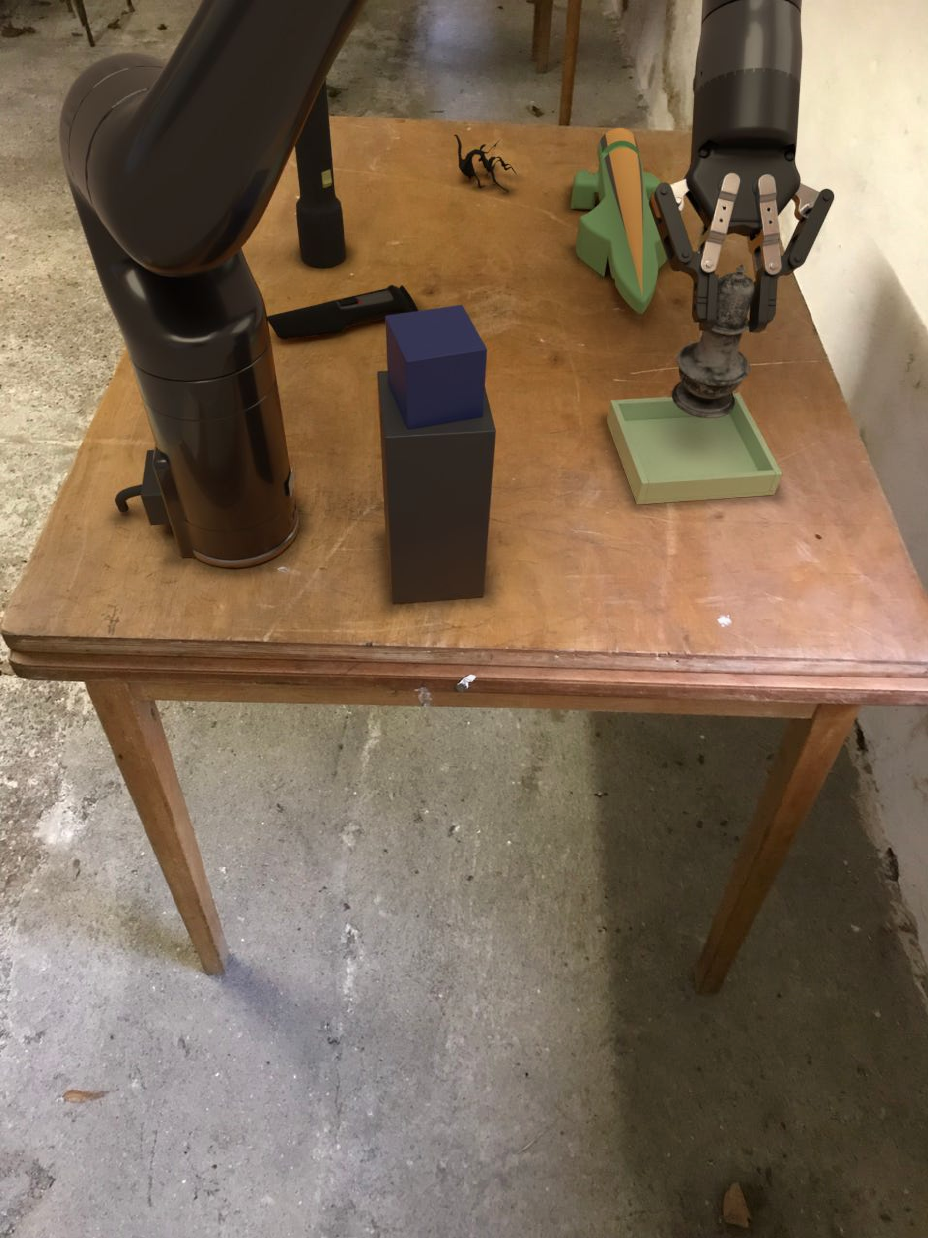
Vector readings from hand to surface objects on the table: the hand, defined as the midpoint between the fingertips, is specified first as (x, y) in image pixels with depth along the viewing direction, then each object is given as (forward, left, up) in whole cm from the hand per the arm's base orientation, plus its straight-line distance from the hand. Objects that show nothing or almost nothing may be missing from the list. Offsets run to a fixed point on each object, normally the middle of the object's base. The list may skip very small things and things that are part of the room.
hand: (732, 328), depth 68 cm
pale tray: (0, +2, -14) cm, 14 cm away
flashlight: (-31, +39, -14) cm, 52 cm away
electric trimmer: (-29, +25, -14) cm, 41 cm away
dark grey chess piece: (0, +2, -8) cm, 8 cm away
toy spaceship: (+3, +37, -14) cm, 39 cm away
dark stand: (-24, -9, -14) cm, 29 cm away
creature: (-10, +56, -14) cm, 58 cm away
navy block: (-24, -9, +2) cm, 25 cm away
